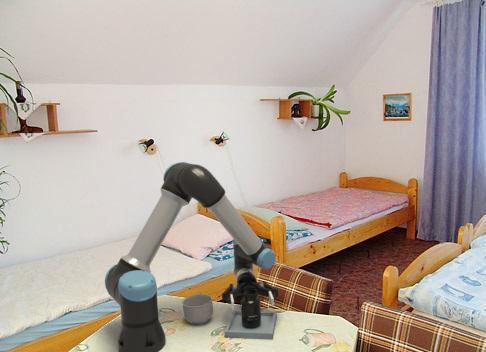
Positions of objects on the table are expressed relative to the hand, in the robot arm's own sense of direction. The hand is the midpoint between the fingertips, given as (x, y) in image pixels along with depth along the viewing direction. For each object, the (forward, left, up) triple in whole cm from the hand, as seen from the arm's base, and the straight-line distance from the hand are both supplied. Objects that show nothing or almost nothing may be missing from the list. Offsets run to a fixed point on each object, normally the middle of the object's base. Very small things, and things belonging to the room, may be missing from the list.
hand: (252, 304), depth 148 cm
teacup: (-21, +7, -10) cm, 24 cm away
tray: (-1, +2, -9) cm, 10 cm away
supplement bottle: (-1, +3, -9) cm, 9 cm away
